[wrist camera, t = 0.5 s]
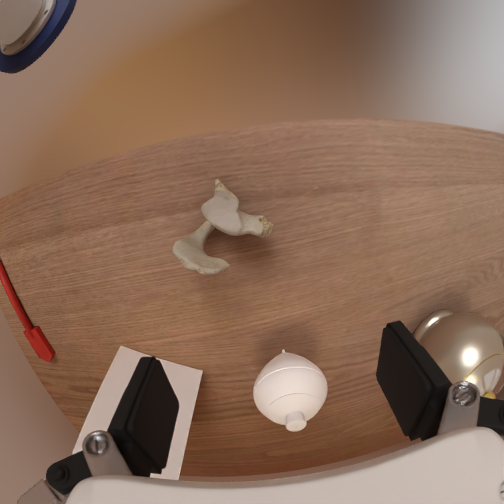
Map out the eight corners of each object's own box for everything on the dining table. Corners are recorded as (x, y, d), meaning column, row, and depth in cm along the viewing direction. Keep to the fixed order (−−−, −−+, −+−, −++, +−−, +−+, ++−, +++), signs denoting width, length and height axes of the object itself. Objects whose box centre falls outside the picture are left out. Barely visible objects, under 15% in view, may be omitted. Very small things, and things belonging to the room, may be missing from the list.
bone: (265, 160, 24) (276, 242, 17) (273, 212, 29) (283, 294, 22) (175, 175, 25) (151, 258, 18) (194, 223, 30) (183, 304, 23)
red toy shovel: (-7, 261, 28) (-12, 264, 27) (4, 253, 28) (-2, 256, 27) (45, 358, 34) (41, 363, 32) (58, 357, 33) (54, 362, 32)
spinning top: (310, 318, 31) (337, 393, 20) (315, 365, 33) (337, 437, 22) (246, 331, 31) (245, 410, 20) (258, 376, 34) (262, 451, 22)
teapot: (385, 380, 35) (426, 461, 20) (392, 308, 31) (463, 395, 15) (470, 344, 34) (520, 400, 19) (485, 275, 30) (556, 325, 14)
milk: (120, 345, 32) (37, 510, 7) (202, 370, 33) (172, 563, 9) (121, 397, 36) (70, 531, 11) (189, 419, 37) (166, 564, 12)
